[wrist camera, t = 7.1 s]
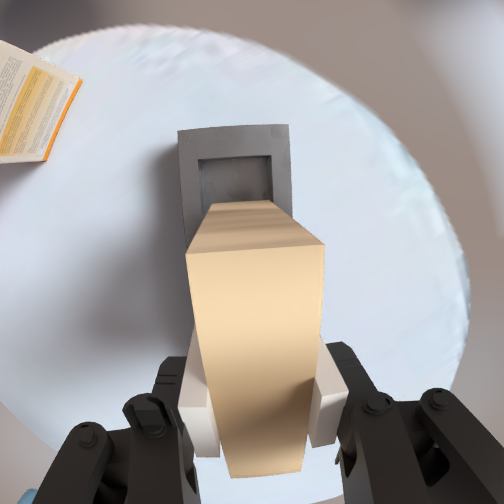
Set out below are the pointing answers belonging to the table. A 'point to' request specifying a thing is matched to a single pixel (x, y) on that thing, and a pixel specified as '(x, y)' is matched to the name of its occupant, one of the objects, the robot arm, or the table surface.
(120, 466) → the robot arm
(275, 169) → the grey rectangular block
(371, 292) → the table surface
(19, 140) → the supplement box
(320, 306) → the clip
